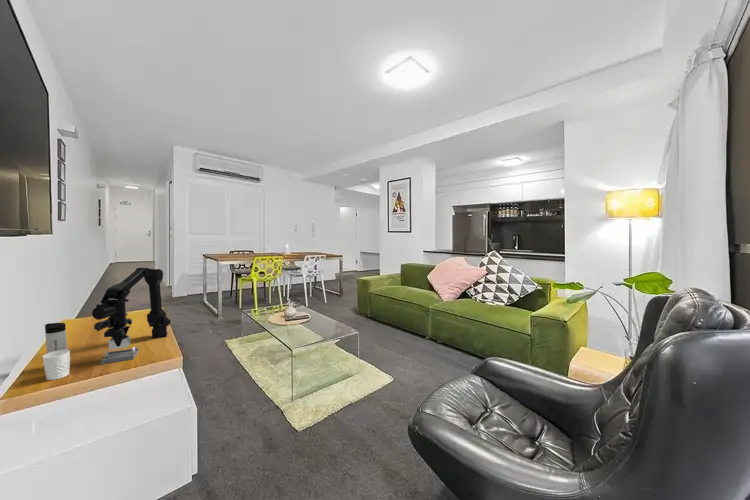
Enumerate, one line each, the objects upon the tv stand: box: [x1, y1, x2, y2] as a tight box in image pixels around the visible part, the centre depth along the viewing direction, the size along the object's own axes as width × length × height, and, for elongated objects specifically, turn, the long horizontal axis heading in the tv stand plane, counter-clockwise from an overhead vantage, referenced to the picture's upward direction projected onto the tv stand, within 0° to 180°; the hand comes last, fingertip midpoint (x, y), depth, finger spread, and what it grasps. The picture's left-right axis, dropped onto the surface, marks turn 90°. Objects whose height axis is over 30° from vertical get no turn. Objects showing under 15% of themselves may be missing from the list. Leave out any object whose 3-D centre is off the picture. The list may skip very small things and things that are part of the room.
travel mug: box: [44, 322, 68, 354], centre depth 132 cm, size 6×7×20 cm
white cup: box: [42, 349, 71, 381], centre depth 124 cm, size 8×8×10 cm
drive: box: [108, 334, 131, 351], centre depth 142 cm, size 7×4×4 cm, turn 118°
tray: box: [100, 346, 139, 365], centre depth 142 cm, size 12×10×4 cm
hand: (119, 344), depth 142 cm, fingers closed on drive, 4 cm apart
